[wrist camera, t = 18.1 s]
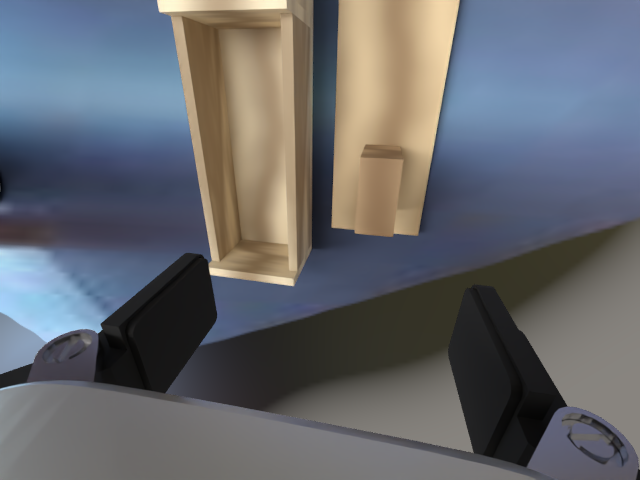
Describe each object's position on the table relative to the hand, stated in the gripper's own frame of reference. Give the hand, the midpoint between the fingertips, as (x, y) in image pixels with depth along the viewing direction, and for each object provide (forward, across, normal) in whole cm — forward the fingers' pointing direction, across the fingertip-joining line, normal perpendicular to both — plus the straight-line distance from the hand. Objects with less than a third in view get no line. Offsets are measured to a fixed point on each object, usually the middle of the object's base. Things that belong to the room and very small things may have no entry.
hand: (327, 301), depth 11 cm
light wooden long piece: (+20, +9, -4) cm, 22 cm away
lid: (+20, -2, -4) cm, 21 cm away
